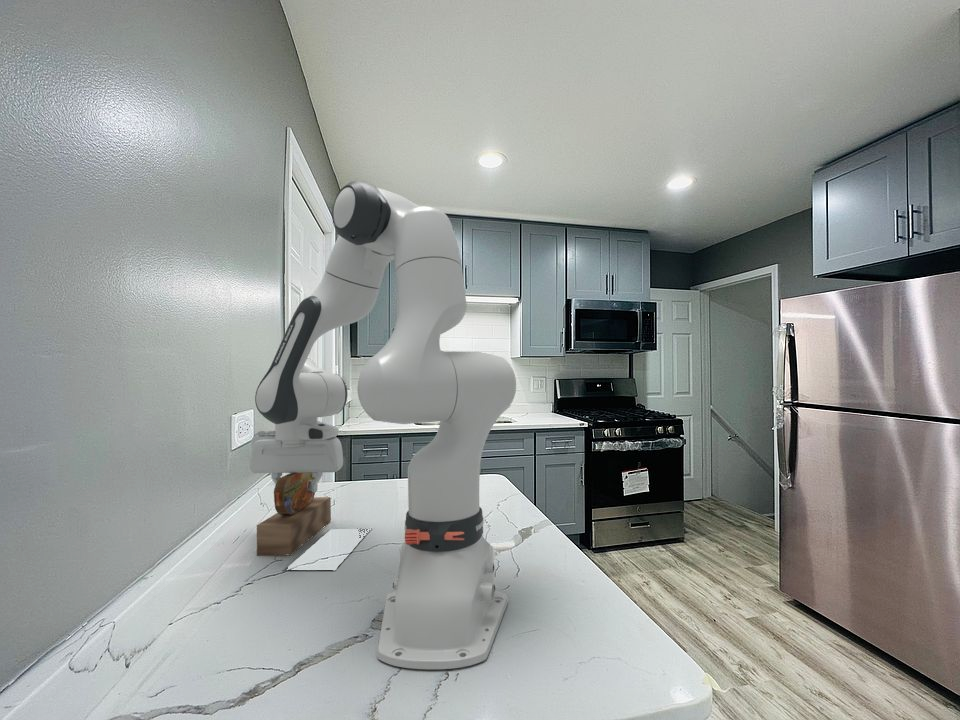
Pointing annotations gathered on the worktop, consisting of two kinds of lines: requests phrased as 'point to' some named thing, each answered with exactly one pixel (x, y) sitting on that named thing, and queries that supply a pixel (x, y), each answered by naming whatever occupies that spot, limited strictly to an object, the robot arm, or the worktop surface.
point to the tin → (293, 493)
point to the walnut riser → (292, 528)
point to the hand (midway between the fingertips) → (297, 492)
